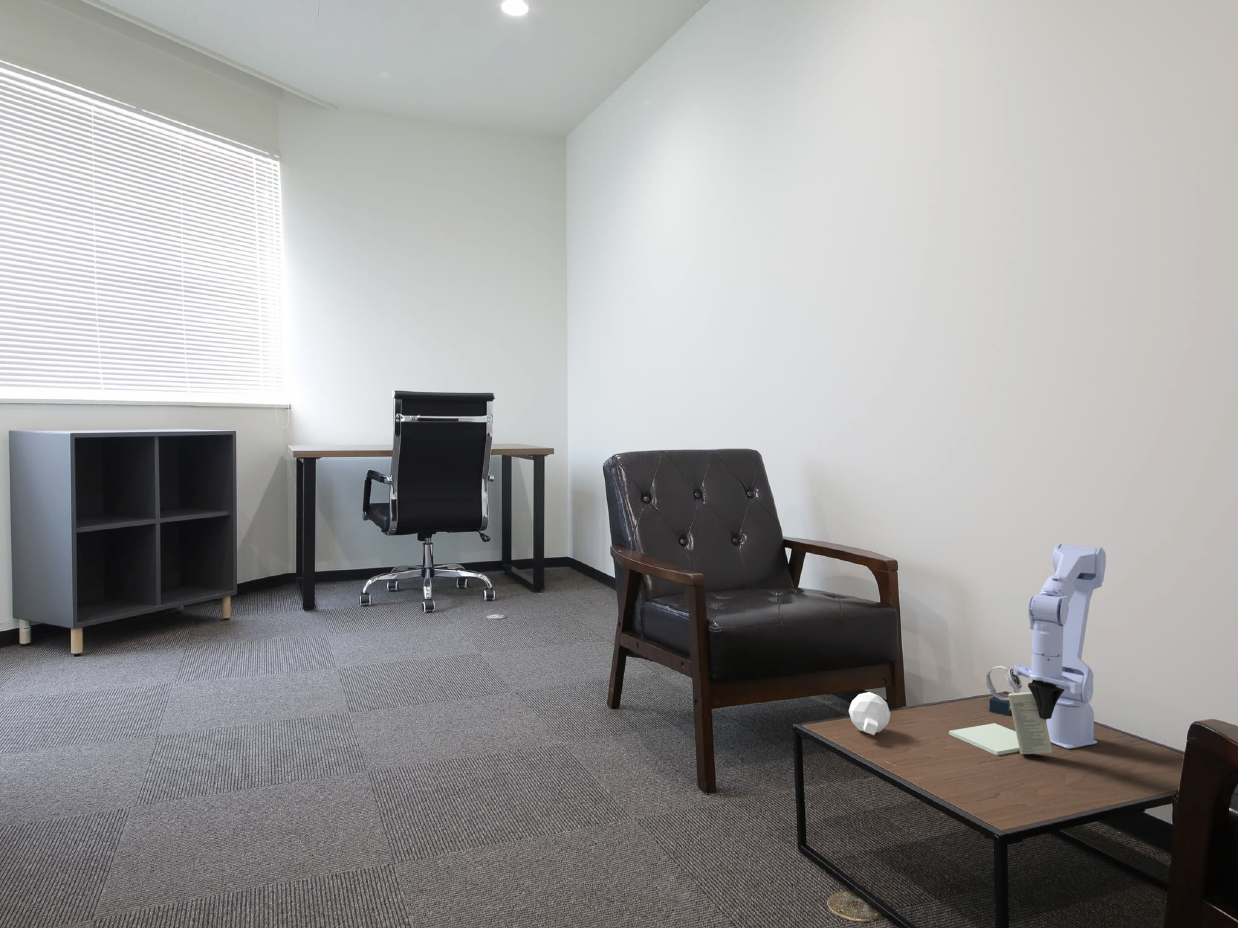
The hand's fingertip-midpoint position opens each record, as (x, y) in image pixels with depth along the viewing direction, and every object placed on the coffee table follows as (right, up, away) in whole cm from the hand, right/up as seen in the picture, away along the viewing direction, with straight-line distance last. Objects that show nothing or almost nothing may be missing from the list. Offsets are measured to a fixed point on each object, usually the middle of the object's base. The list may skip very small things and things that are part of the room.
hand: (1045, 717), depth 168 cm
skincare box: (-1, -8, +2) cm, 8 cm away
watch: (+6, -8, +31) cm, 33 cm away
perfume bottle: (-32, -8, +15) cm, 37 cm away
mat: (-5, -9, +12) cm, 15 cm away
